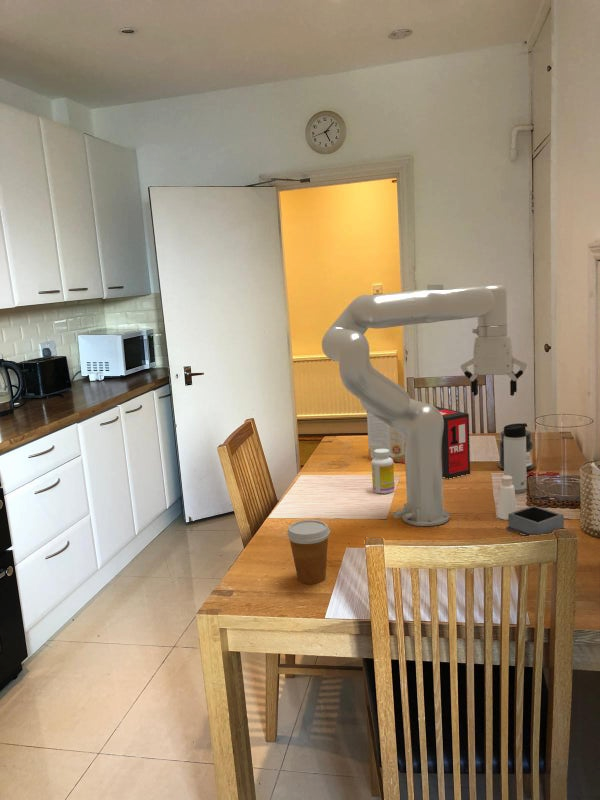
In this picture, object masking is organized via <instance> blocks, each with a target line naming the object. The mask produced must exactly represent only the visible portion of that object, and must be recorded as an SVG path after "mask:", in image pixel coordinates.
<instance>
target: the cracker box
mask: <svg viewBox="0 0 600 800" xmlns="http://www.w3.org/2000/svg"><path fill="white" fill-rule="evenodd" d="M366 419H367V420H366V422H367V440H368V441H367V442H368V443H367V444H368V456H369V457H368V459H369V461H372V459H374V458H375V455H374V450H376V449H388V450H389V452H390V454H389V457H390V458H392V460H393V463H401V464H403V463H404V464H405V449H406V445H407V441H408V435H407V434H404V433H402V432H399V431H397V430H395V429H394V428H392V427H391V426H389V425H387V424H386V423H384V422H383V421H381V420H380V419H378V418H377V417H375V416H374V415H372V414H370V413H369V412H368V411H367V410H366Z"/></svg>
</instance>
